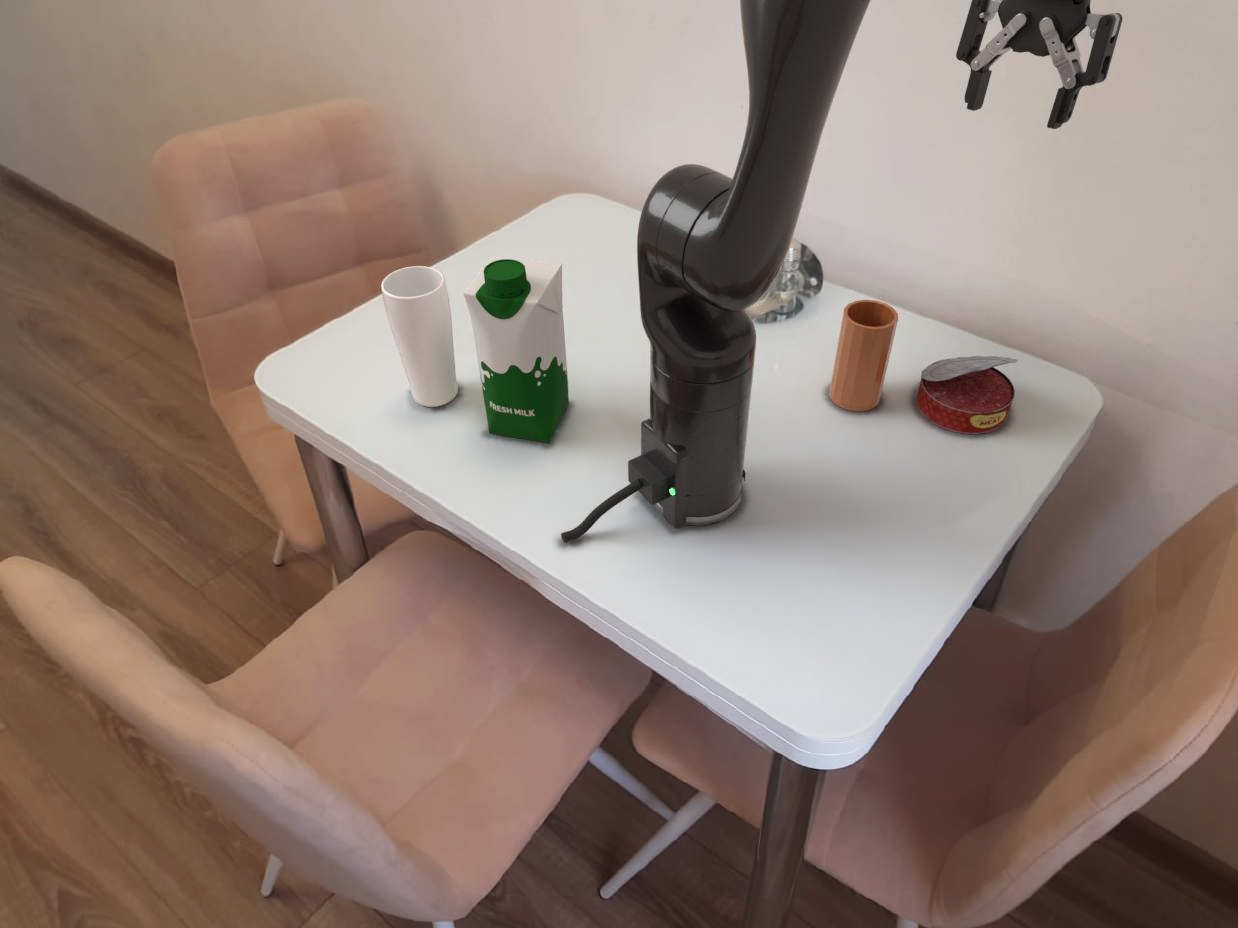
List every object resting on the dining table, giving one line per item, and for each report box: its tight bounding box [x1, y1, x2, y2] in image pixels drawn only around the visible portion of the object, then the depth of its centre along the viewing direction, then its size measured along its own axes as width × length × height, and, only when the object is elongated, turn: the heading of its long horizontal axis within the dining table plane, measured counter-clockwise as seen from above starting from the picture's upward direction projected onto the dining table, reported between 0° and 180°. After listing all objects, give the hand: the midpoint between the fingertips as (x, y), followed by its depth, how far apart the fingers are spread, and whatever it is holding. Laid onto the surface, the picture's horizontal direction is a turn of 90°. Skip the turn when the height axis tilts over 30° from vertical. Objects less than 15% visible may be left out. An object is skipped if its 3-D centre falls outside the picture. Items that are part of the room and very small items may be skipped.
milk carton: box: [463, 254, 570, 444], centre depth 92 cm, size 9×9×20 cm
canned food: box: [915, 355, 1018, 435], centre depth 97 cm, size 11×10×10 cm
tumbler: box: [828, 299, 899, 412], centre depth 97 cm, size 6×6×11 cm
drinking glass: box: [380, 265, 459, 408], centre depth 97 cm, size 7×7×15 cm
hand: (1013, 118), depth 90 cm, fingers open, 8 cm apart
